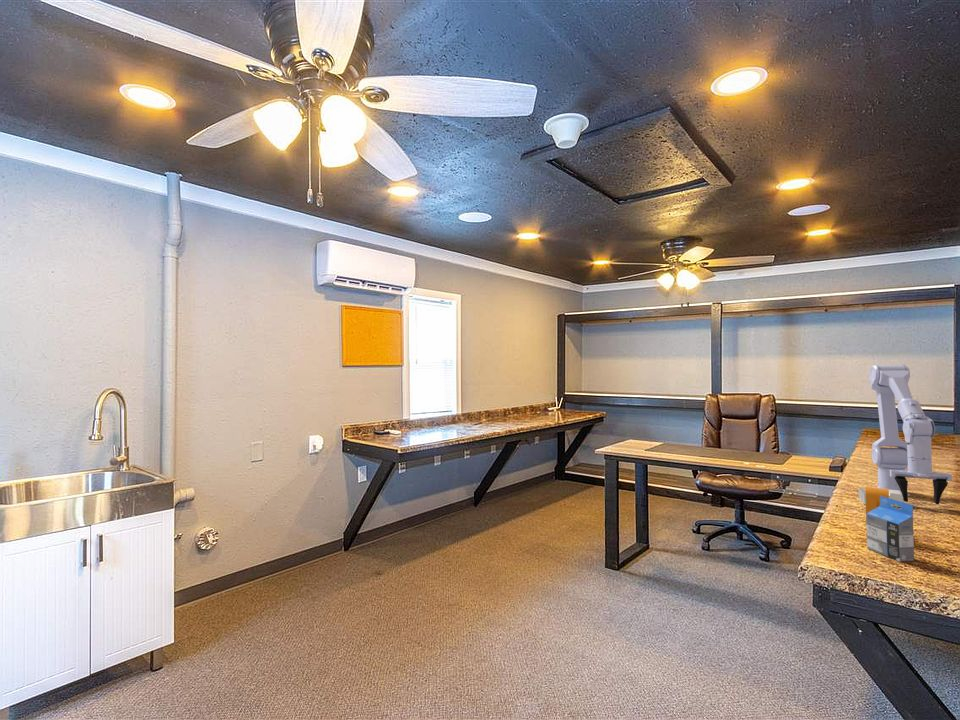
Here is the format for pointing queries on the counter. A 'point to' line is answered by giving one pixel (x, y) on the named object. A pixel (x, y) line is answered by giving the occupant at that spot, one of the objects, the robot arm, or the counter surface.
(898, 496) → the chute piece
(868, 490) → the bracket
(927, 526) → the counter surface
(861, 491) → the chute mount
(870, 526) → the ink cartridge box
